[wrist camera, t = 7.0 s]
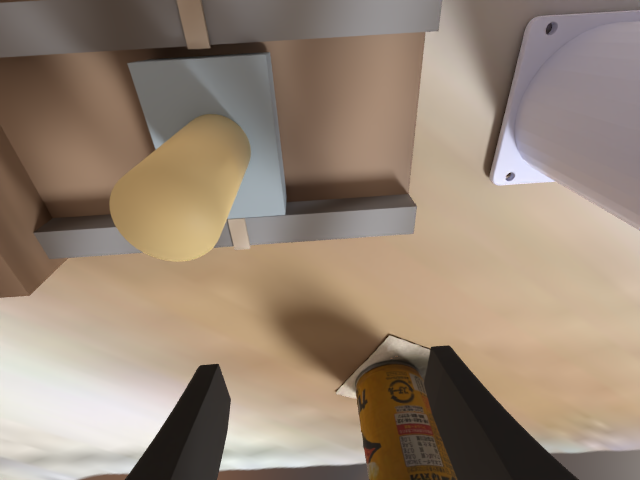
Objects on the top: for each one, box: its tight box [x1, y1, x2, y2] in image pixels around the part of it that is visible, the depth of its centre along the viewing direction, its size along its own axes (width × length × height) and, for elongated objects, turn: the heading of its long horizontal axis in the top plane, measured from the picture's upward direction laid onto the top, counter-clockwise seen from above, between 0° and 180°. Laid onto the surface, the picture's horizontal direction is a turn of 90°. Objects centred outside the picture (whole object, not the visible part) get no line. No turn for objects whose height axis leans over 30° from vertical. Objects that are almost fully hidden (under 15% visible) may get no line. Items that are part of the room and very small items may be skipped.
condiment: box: [336, 335, 457, 480], centre depth 24 cm, size 7×8×12 cm
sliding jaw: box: [109, 52, 287, 262], centre depth 12 cm, size 5×7×8 cm
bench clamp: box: [0, 0, 442, 298], centre depth 15 cm, size 22×12×5 cm, turn 93°
